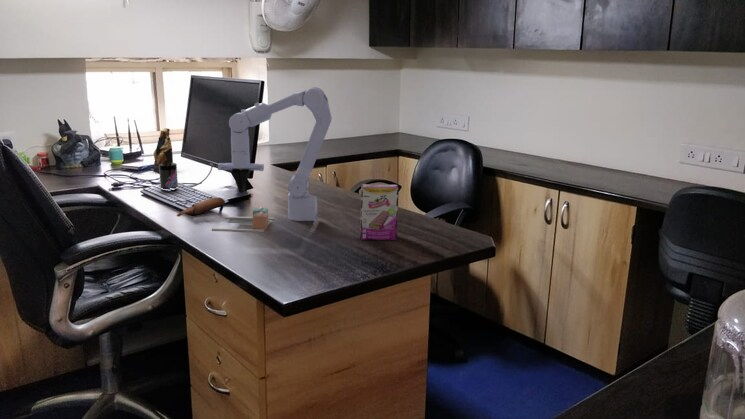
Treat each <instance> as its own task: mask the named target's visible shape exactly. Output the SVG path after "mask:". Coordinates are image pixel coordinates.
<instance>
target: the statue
mask: <svg viewBox="0 0 745 419" xmlns="http://www.w3.org/2000/svg"><path fill="white" fill-rule="evenodd" d="M170 131H171V130H170V128H168V127H167V128H166V127H164V128H163V129H161V130H160V133H159V137H158V141H157V144H156V148H155V149H154V152H153V160H154V164H153V165H152V170H153V171H154V172H155V173H157V174H160V171H159V164H162V163H174V159H173V157H174V156H173V147H172V141H171V137H170Z"/></svg>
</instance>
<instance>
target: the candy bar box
mask: <svg viewBox="0 0 745 419" xmlns="http://www.w3.org/2000/svg"><path fill="white" fill-rule="evenodd" d="M360 187H361V189H360V218H359V219H360V222H359V223H360V224H359V226H360V227H359V228H360V229H359V238H360V240H361V241H375V240H376V241H397V236H398V235H397V233H398V212H399V211H398V210H399V209H398V207H399V185H398V184H375V183H374V184H371V183H370V184H368V183H367V184H366V183H363V184H361V186H360Z"/></svg>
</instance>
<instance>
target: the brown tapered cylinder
mask: <svg viewBox="0 0 745 419" xmlns="http://www.w3.org/2000/svg"><path fill="white" fill-rule="evenodd" d="M220 206H226V201H225V199H223V198H222V197H212V198H207V199H204V200H202V201H200V202H196V203H194V204H192V205H191V206H190V207H188V208H186V209H184V210H182V211H180V212H179V213H178V214H176V217H181V216H182V215H184V214H186V215H187V214H188V215H195V216H197V215H199V214H202V213H204V212H207V211H210V210H213V209H215V208H217V207H220Z"/></svg>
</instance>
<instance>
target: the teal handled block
mask: <svg viewBox="0 0 745 419" xmlns="http://www.w3.org/2000/svg"><path fill="white" fill-rule="evenodd" d="M260 212H263V213H268V214H269V208H268V207H264V206H259V207H255V208H254V209H253V210H252V216H253V215H254V214H255V213H260Z"/></svg>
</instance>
